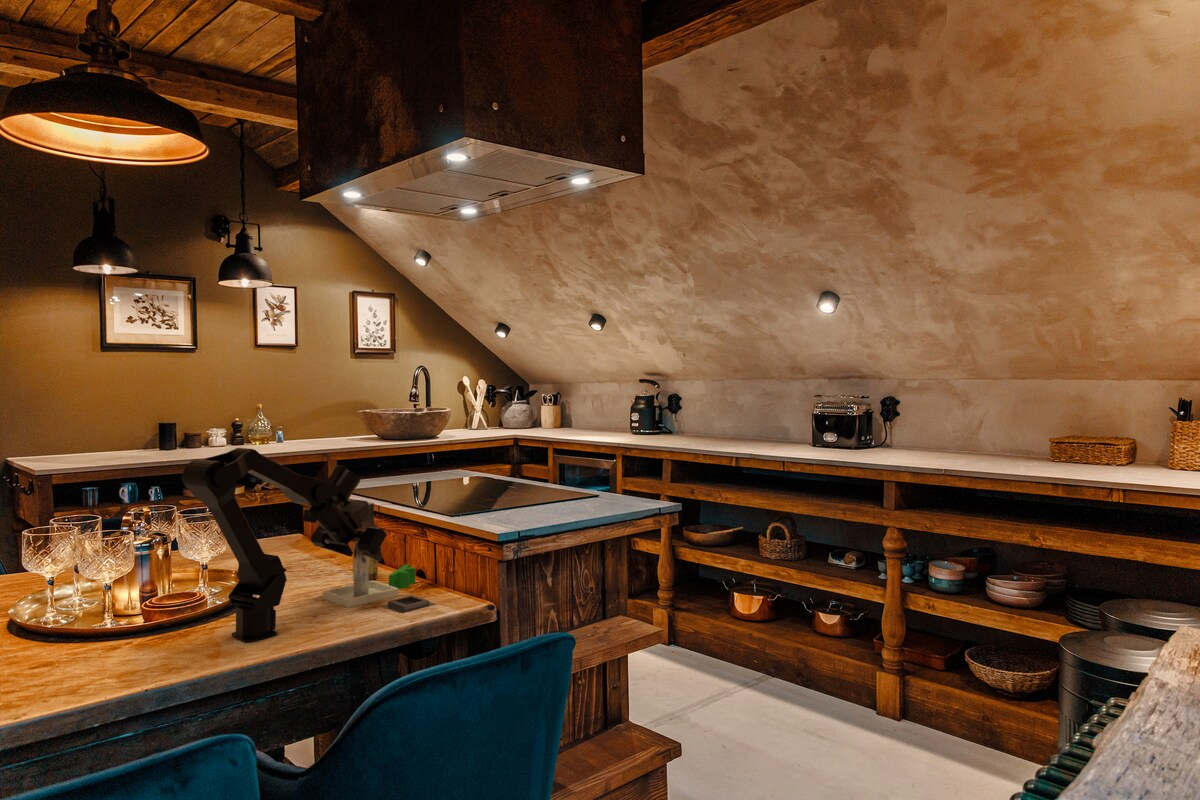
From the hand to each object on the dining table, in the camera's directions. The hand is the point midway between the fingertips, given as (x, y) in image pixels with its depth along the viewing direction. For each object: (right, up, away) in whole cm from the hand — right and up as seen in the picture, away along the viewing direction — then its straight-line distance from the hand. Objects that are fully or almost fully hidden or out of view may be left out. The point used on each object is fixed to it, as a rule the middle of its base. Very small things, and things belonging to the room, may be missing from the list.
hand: (366, 557), depth 178 cm
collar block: (+12, -10, -6) cm, 17 cm away
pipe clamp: (+6, -10, +10) cm, 16 cm away
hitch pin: (-1, -9, -1) cm, 9 cm away
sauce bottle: (-6, -9, +17) cm, 20 cm away
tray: (-1, -10, -1) cm, 10 cm away
